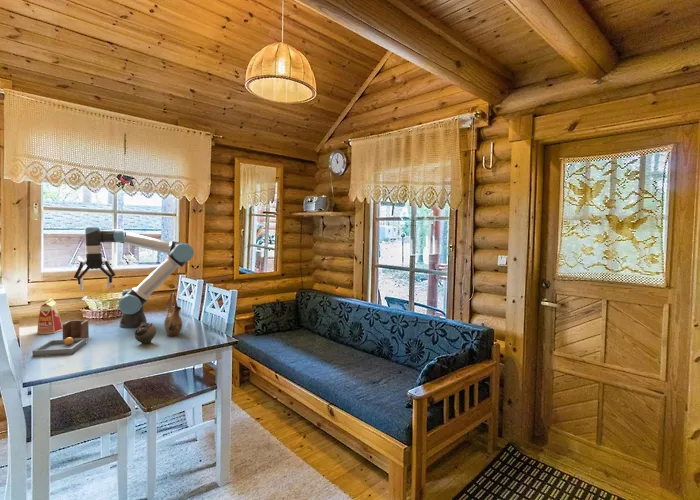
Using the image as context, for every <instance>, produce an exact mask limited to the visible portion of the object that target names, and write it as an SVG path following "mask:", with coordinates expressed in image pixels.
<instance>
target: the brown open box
mask: <svg viewBox="0 0 700 500" xmlns="http://www.w3.org/2000/svg"><path fill="white" fill-rule="evenodd" d="M61 324H62V329H63V330H62V340H64V339H66V338H68V337H72V338H73V339H83V338H86V340H87V339H88V338H89V337H90V336H89V335H90V333H89V332H90V331H89V328H90V327H89V319H79V320H78V319H76V320H73V319H72V320H68V321H67V322H65V323H61Z"/></svg>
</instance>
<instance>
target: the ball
mask: <svg viewBox="0 0 700 500" xmlns="http://www.w3.org/2000/svg"><path fill="white" fill-rule="evenodd" d="M73 342H74V339H73V338H72V337H68V338H66V339H65V340H64V343H65V344H66V345H71V344H72V343H73Z"/></svg>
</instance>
